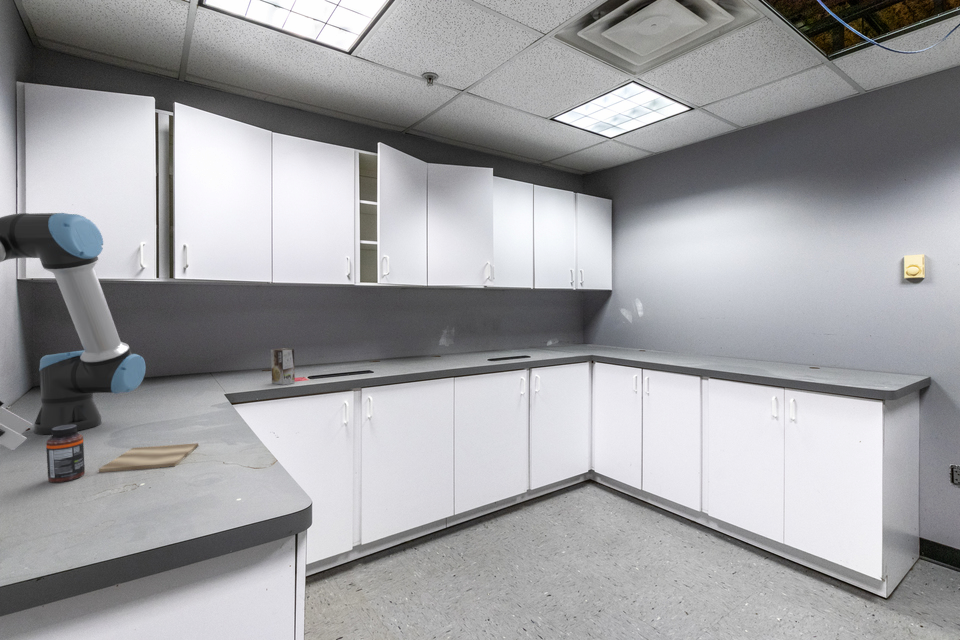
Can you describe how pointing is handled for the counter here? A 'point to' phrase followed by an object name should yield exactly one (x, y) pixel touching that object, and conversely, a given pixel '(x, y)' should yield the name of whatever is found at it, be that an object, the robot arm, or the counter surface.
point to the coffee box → (282, 366)
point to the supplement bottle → (65, 454)
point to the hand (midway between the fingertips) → (23, 436)
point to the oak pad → (149, 457)
